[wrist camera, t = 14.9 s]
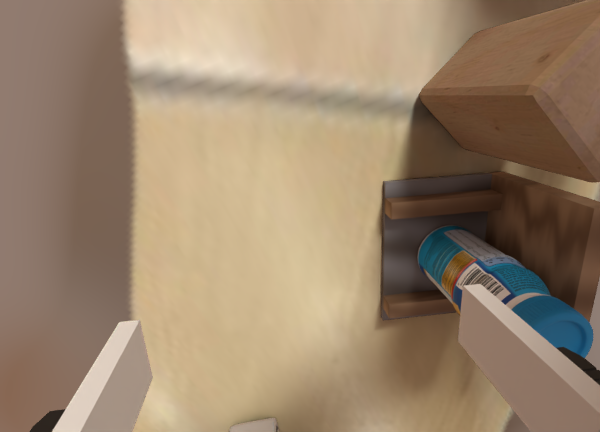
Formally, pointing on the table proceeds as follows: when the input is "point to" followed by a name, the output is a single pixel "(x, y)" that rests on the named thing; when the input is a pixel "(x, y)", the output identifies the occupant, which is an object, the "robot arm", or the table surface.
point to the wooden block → (528, 92)
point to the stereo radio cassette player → (256, 426)
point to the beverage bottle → (501, 285)
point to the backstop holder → (489, 236)
